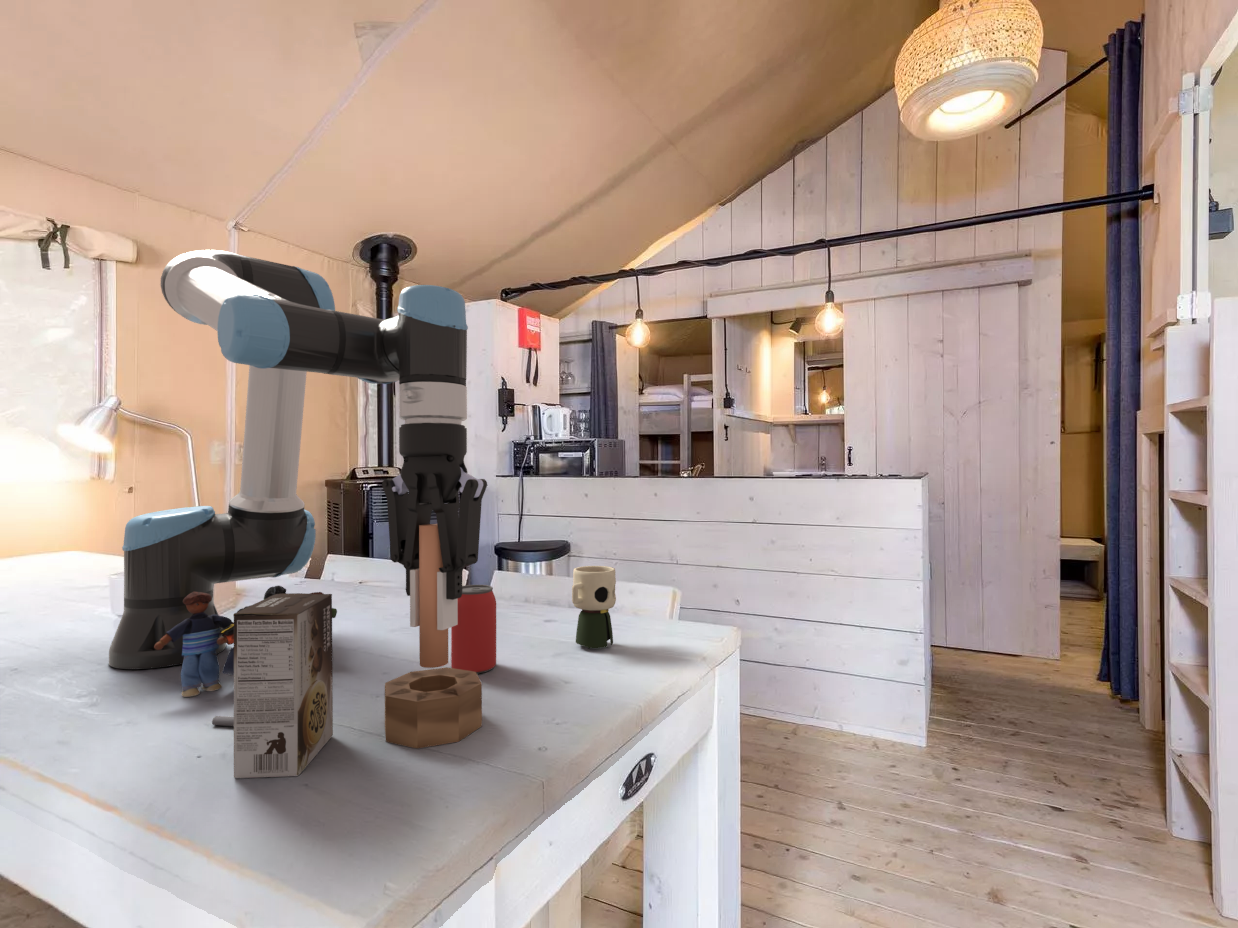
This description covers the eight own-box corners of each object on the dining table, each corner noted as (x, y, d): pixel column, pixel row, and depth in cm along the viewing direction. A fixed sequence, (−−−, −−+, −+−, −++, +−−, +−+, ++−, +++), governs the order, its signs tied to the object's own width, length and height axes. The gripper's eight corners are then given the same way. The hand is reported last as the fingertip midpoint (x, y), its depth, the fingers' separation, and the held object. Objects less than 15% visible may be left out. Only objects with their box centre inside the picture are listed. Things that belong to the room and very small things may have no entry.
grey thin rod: (211, 726, 71) (212, 717, 71) (218, 722, 72) (218, 714, 72) (295, 731, 70) (295, 722, 70) (301, 727, 71) (301, 718, 71)
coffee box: (274, 738, 68) (274, 592, 68) (334, 736, 69) (334, 591, 69) (229, 780, 59) (230, 612, 59) (299, 777, 60) (299, 610, 60)
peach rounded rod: (413, 665, 70) (413, 525, 70) (432, 657, 73) (431, 523, 73) (436, 669, 69) (435, 526, 69) (454, 660, 72) (453, 524, 72)
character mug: (590, 658, 97) (590, 575, 97) (556, 650, 101) (556, 571, 101) (630, 642, 105) (630, 566, 105) (598, 635, 110) (598, 562, 110)
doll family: (195, 711, 76) (195, 603, 76) (147, 701, 79) (147, 597, 79) (341, 657, 98) (341, 573, 98) (298, 651, 101) (299, 569, 101)
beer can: (485, 677, 88) (485, 593, 88) (442, 674, 89) (442, 591, 89) (503, 662, 94) (503, 584, 95) (463, 660, 96) (463, 583, 96)
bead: (364, 736, 68) (364, 691, 69) (427, 703, 78) (427, 664, 78) (440, 753, 65) (440, 705, 65) (496, 716, 74) (496, 674, 74)
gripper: (355, 423, 71) (355, 626, 71) (472, 418, 65) (472, 641, 65) (401, 427, 78) (401, 612, 78) (510, 423, 72) (511, 624, 72)
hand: (433, 625), depth 71 cm, fingers closed on peach rounded rod, 3 cm apart
